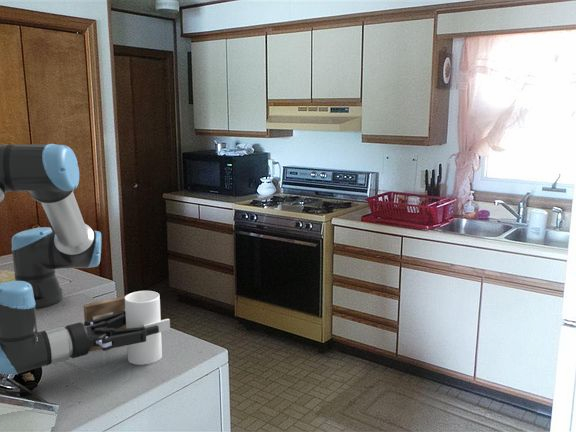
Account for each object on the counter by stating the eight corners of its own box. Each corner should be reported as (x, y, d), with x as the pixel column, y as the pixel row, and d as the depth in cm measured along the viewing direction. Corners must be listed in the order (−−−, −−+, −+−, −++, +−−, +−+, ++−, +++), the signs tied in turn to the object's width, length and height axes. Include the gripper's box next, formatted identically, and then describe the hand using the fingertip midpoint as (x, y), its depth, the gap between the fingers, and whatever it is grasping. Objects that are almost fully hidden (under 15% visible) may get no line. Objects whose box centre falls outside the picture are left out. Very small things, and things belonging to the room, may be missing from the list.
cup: (153, 366, 124) (150, 303, 121) (121, 363, 126) (118, 300, 123) (167, 351, 132) (165, 292, 129) (137, 348, 134) (134, 289, 131)
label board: (89, 352, 132) (86, 307, 129) (79, 340, 138) (76, 298, 136) (149, 335, 141) (147, 294, 139) (137, 326, 148) (134, 285, 145)
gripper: (55, 342, 125) (145, 319, 139) (83, 376, 109) (181, 347, 123) (53, 312, 124) (143, 293, 138) (80, 343, 108) (180, 317, 121)
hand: (161, 318), depth 130 cm, fingers closed on cup, 8 cm apart
